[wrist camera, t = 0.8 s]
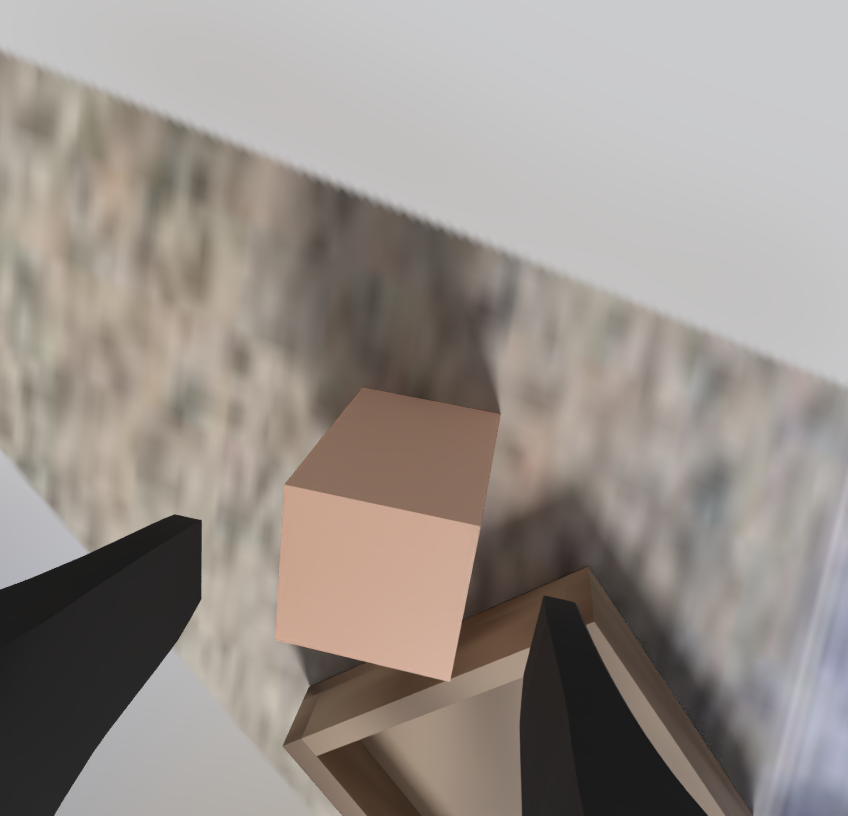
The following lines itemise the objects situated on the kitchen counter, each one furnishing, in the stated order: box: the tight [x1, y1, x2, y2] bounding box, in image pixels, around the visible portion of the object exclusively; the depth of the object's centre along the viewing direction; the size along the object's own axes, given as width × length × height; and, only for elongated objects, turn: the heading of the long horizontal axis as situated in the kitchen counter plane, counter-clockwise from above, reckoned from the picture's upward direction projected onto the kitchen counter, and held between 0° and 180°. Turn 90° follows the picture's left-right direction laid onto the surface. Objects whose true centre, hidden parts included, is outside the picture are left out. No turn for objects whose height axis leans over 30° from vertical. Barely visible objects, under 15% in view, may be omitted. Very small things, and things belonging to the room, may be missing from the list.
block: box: [275, 387, 501, 682], centre depth 16 cm, size 4×4×6 cm
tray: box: [283, 566, 753, 816], centre depth 21 cm, size 11×11×2 cm
